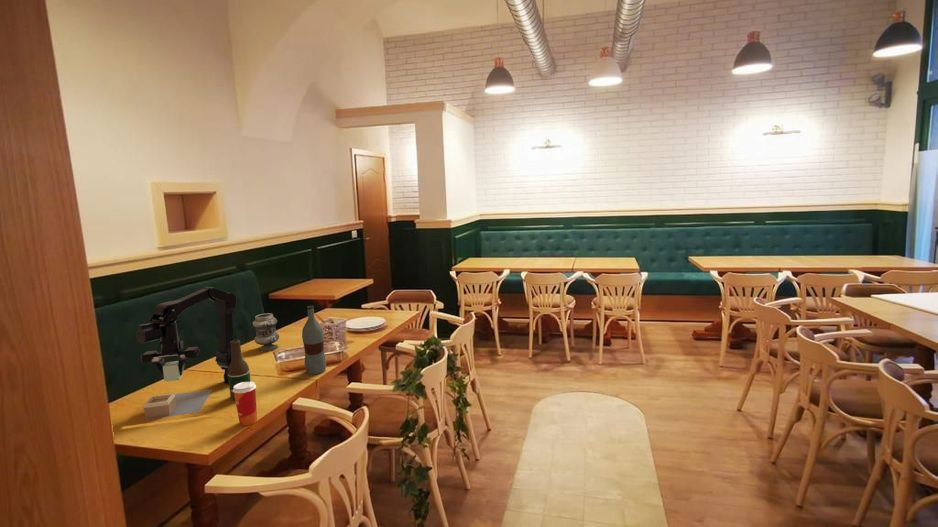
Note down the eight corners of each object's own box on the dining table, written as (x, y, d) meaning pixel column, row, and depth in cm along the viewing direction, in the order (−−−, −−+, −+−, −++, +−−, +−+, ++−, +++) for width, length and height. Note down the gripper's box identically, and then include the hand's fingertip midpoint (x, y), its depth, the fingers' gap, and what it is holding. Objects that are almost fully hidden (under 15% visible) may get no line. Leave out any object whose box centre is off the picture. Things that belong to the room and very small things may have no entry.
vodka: (330, 367, 229) (325, 304, 224) (320, 375, 220) (314, 309, 215) (312, 366, 231) (306, 303, 226) (301, 374, 222) (294, 308, 218)
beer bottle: (256, 395, 201) (250, 338, 197) (242, 404, 194) (235, 344, 190) (241, 393, 204) (234, 337, 200) (226, 401, 196) (219, 343, 193)
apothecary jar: (263, 344, 267) (259, 312, 264) (284, 344, 265) (281, 312, 263) (250, 352, 255) (246, 318, 252) (272, 352, 254) (269, 318, 251)
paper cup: (241, 418, 182) (236, 381, 180) (262, 416, 182) (258, 380, 180) (233, 428, 174) (228, 390, 172) (255, 426, 175) (251, 388, 172)
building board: (213, 391, 207) (211, 377, 206) (199, 414, 186) (197, 398, 185) (164, 397, 203) (162, 383, 202) (144, 422, 182) (142, 406, 181)
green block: (183, 375, 194) (181, 360, 193) (179, 380, 189) (177, 364, 189) (168, 377, 193) (167, 362, 192) (164, 381, 188) (162, 366, 187)
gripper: (201, 328, 199) (205, 366, 201) (148, 333, 194) (153, 371, 197) (194, 336, 188) (198, 376, 190) (138, 341, 184) (143, 381, 186)
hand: (173, 376), depth 191 cm, fingers closed on green block, 5 cm apart
